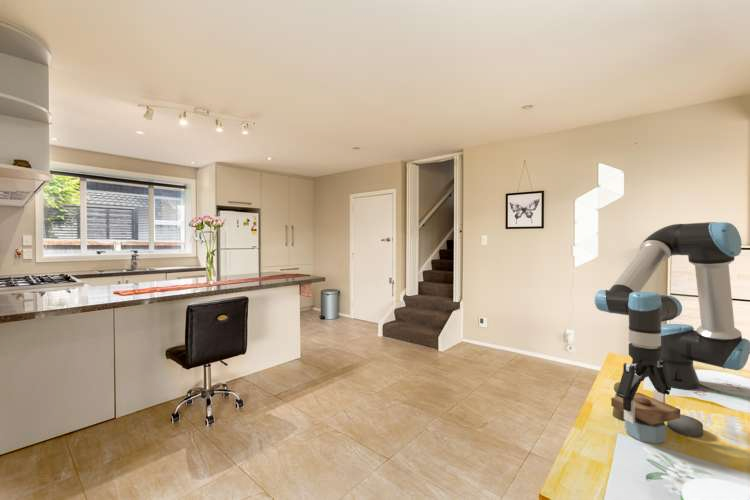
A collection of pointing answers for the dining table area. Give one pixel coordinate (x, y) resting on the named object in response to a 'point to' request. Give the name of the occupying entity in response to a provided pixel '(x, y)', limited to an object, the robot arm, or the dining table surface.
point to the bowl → (646, 431)
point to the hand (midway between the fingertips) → (644, 417)
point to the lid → (649, 409)
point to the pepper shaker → (616, 412)
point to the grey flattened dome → (686, 426)
